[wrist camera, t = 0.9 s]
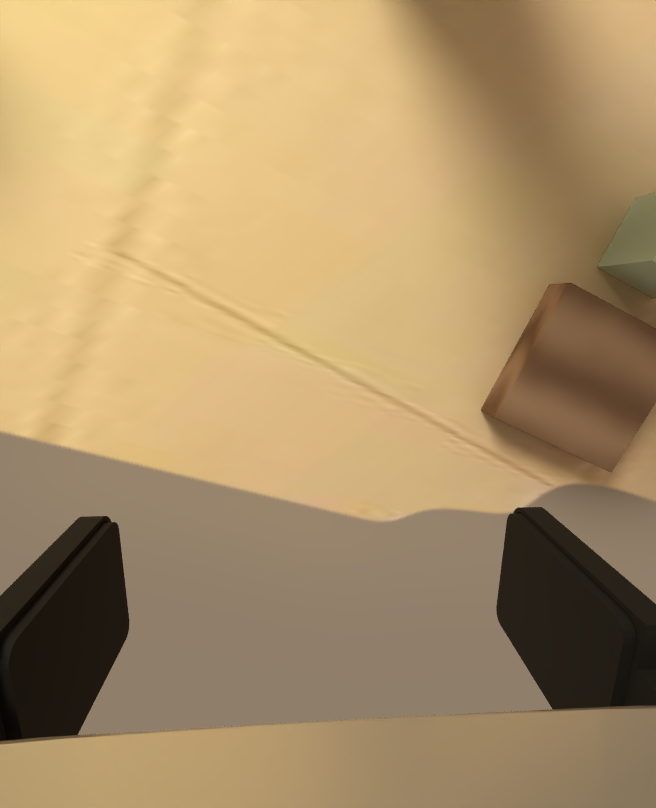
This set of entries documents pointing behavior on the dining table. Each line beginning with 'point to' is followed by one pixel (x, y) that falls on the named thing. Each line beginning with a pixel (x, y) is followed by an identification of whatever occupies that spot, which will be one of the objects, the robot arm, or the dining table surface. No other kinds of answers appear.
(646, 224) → the sage cube
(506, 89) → the dining table surface
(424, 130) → the dining table surface
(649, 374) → the walnut stand
